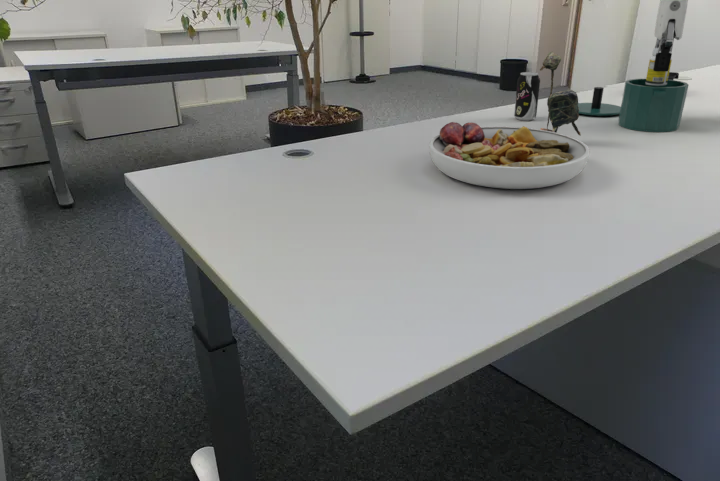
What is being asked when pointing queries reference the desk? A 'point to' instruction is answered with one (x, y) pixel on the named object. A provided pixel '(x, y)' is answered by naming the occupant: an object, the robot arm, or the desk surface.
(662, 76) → the supplement bottle
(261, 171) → the desk surface
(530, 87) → the beverage can
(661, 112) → the pot
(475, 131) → the bowl
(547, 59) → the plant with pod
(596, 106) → the lid
